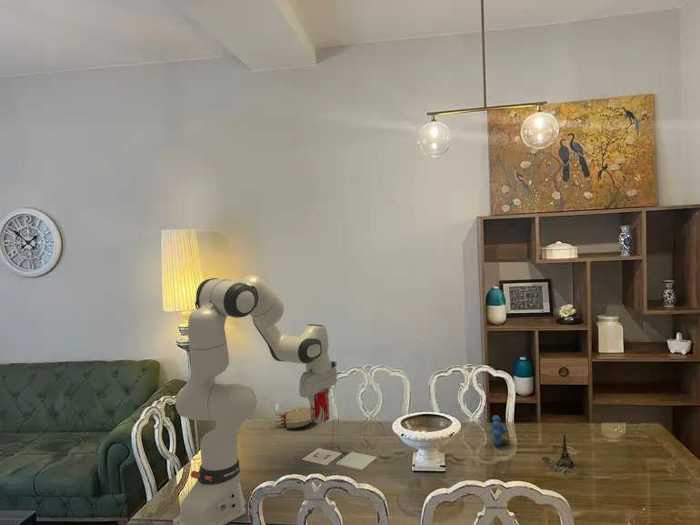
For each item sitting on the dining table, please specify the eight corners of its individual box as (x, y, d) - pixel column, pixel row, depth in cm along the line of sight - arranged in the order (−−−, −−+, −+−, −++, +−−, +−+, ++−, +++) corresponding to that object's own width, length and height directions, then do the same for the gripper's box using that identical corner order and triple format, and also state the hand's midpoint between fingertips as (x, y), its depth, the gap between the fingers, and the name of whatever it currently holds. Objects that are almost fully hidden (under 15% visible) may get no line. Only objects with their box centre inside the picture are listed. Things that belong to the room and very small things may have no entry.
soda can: (327, 424, 188) (325, 392, 187) (308, 423, 189) (307, 392, 188) (331, 417, 195) (330, 386, 194) (313, 416, 196) (312, 386, 195)
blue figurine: (509, 452, 189) (508, 420, 188) (490, 451, 191) (489, 419, 190) (508, 440, 200) (507, 410, 199) (490, 438, 202) (489, 409, 201)
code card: (326, 465, 185) (326, 464, 185) (301, 459, 191) (301, 459, 190) (342, 453, 194) (342, 453, 194) (318, 448, 200) (318, 448, 200)
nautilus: (267, 434, 219) (272, 423, 234) (316, 429, 219) (319, 418, 234) (265, 416, 219) (271, 406, 234) (314, 411, 219) (317, 401, 234)
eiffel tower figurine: (540, 458, 184) (539, 422, 183) (567, 456, 184) (566, 420, 184) (559, 477, 169) (558, 438, 168) (589, 475, 169) (588, 436, 169)
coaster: (362, 470, 179) (362, 469, 179) (336, 464, 185) (336, 463, 185) (376, 458, 189) (376, 457, 189) (351, 453, 194) (351, 451, 194)
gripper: (308, 374, 180) (310, 412, 181) (338, 361, 198) (340, 395, 198) (294, 372, 183) (296, 409, 184) (325, 359, 201) (327, 394, 202)
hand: (319, 402), depth 191 cm, fingers closed on soda can, 7 cm apart
